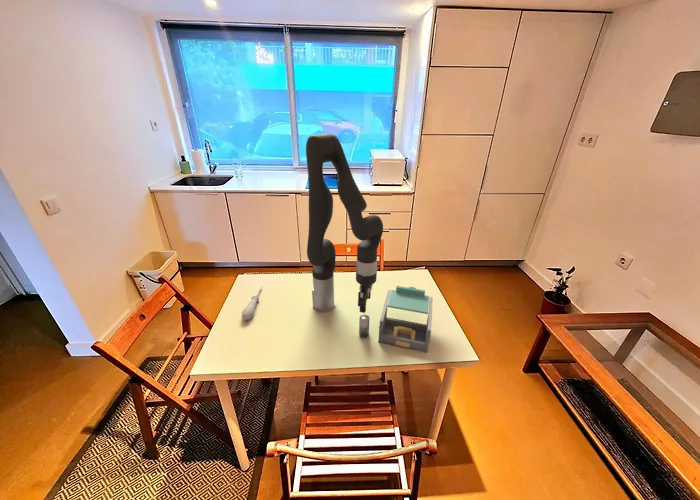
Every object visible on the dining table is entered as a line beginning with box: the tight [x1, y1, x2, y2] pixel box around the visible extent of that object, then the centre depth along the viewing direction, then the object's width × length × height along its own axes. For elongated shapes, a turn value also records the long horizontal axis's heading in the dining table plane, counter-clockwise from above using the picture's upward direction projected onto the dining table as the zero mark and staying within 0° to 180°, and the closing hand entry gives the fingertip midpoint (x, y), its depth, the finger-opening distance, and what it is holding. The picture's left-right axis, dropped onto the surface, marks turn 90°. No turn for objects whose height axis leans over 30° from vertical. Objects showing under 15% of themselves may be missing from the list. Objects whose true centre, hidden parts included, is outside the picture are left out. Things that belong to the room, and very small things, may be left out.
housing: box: [377, 289, 434, 353], centre depth 119 cm, size 19×20×12 cm
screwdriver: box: [241, 286, 263, 321], centre depth 135 cm, size 5×25×4 cm, turn 179°
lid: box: [387, 285, 430, 315], centre depth 119 cm, size 16×11×3 cm
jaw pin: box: [358, 314, 371, 339], centre depth 117 cm, size 4×4×9 cm
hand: (365, 304), depth 112 cm, fingers open, 8 cm apart
